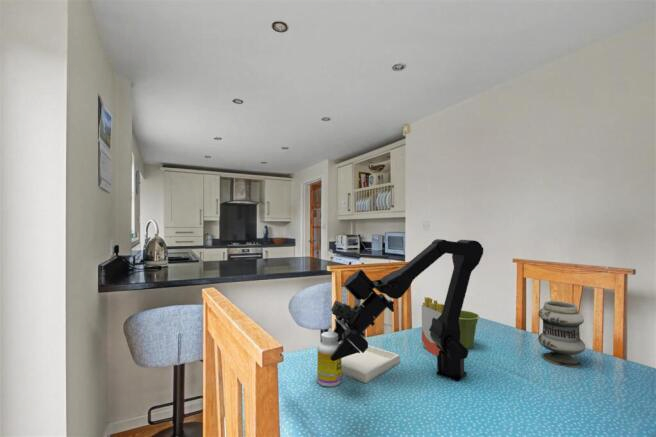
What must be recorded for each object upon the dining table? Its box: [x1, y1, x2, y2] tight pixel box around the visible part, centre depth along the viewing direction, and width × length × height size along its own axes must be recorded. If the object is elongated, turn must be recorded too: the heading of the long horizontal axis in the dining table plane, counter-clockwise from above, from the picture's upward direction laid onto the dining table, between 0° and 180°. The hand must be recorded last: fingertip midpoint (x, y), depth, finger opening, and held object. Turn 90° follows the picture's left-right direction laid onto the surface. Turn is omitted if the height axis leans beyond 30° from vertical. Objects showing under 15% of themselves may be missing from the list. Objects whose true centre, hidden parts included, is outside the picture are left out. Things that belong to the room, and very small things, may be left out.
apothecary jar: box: [537, 300, 586, 368], centre depth 101 cm, size 12×12×18 cm
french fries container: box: [421, 296, 444, 357], centre depth 107 cm, size 5×11×18 cm, turn 17°
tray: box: [341, 344, 401, 384], centre depth 98 cm, size 18×18×2 cm
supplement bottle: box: [316, 331, 342, 388], centre depth 86 cm, size 7×7×13 cm
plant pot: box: [459, 310, 480, 350], centre depth 113 cm, size 12×12×11 cm
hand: (329, 352), depth 86 cm, fingers open, 9 cm apart
